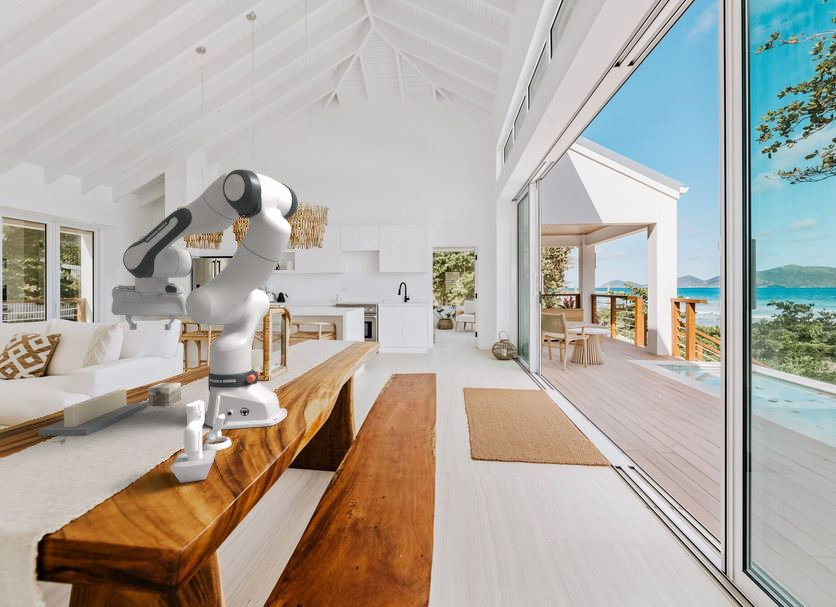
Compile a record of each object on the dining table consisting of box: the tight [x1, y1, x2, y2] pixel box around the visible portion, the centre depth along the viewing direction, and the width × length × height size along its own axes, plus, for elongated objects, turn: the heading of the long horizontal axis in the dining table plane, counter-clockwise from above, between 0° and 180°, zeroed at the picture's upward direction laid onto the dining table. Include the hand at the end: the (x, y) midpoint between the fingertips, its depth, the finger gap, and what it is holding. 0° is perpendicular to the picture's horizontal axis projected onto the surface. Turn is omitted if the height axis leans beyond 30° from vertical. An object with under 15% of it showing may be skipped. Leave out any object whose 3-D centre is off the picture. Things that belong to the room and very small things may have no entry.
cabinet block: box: [148, 382, 182, 407], centre depth 131 cm, size 6×8×6 cm
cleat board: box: [37, 388, 147, 437], centre depth 114 cm, size 12×24×6 cm, turn 2°
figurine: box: [169, 400, 218, 484], centre depth 79 cm, size 7×9×15 cm
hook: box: [202, 414, 232, 451], centre depth 94 cm, size 6×10×6 cm
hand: (150, 329), depth 126 cm, fingers open, 8 cm apart
